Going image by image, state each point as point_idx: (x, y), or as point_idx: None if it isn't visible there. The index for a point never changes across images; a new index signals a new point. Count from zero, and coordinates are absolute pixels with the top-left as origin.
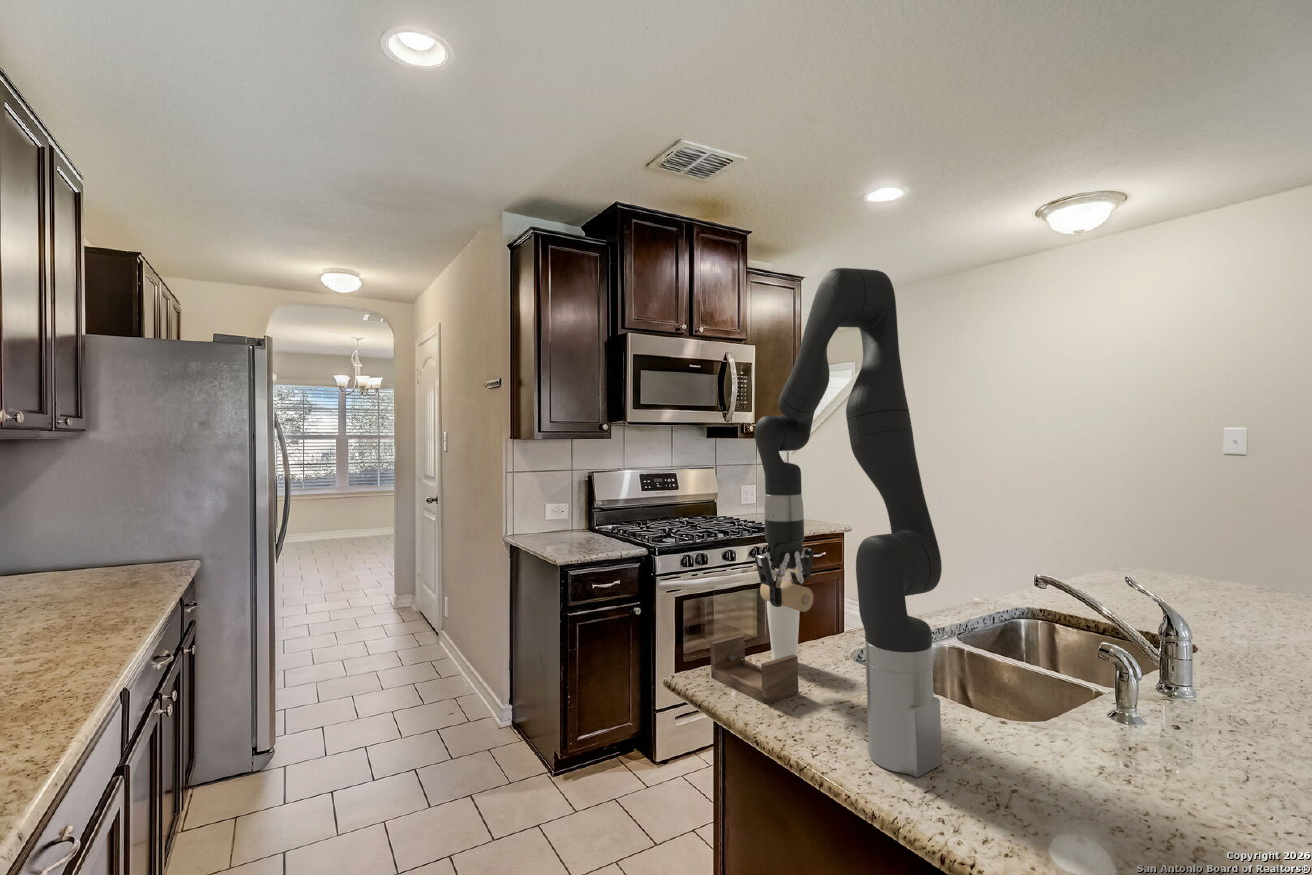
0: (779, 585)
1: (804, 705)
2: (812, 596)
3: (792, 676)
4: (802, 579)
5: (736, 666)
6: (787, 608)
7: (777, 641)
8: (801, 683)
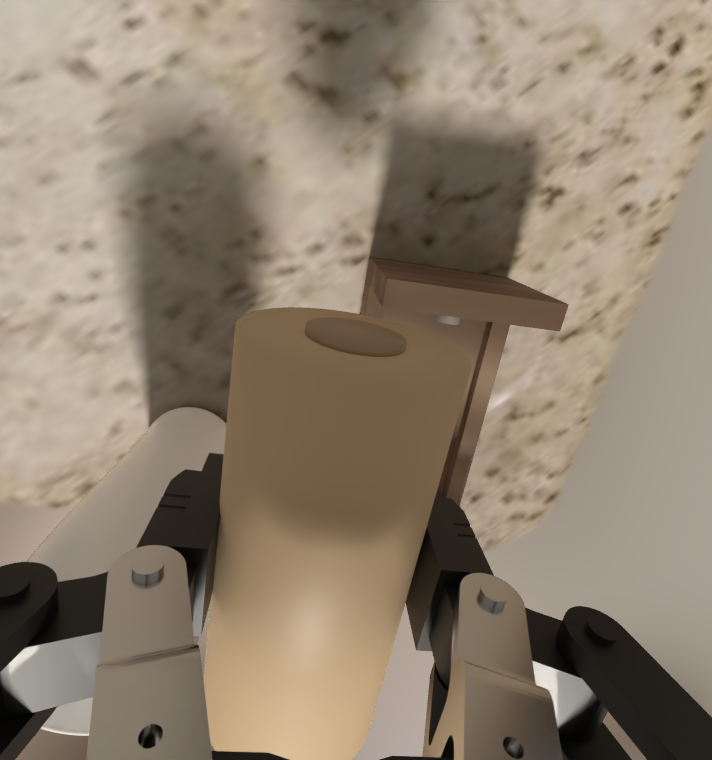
0: (485, 587)
1: (436, 184)
2: (248, 326)
3: (407, 270)
4: (136, 571)
5: None
6: None
7: None
8: (291, 302)
